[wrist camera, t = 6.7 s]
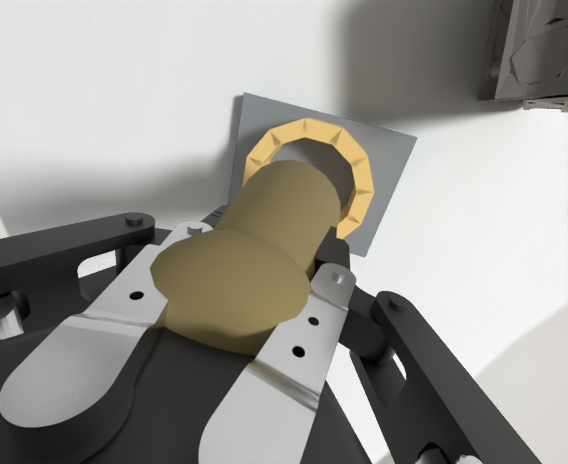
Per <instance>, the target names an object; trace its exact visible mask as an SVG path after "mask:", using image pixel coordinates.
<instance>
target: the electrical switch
mask: <svg viewBox="0 0 568 464" xmlns="http://www.w3.org/2000/svg"><path fill="white" fill-rule="evenodd" d="M501 4H502V9H501V8H500V7H501ZM496 57H497V58H496ZM495 58H496V60H495V61H494V59H495ZM493 61H494V63H493ZM489 75H490V76H489ZM479 100H482V101H479ZM508 100H523V110H530V109H533V108H547V109H562V110H561V112H568V0H495V4H494V9H493V15H492V21H491V27H490V33H489V39H488V44H487V50H486V56H485V62H484V68H483V74H482V79H481V85H480V91H479V97H478V101H477V102H488V101H499V102H502V101H508Z"/></svg>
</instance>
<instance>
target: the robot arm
mask: <svg viewBox="0 0 568 464" xmlns="http://www.w3.org/2000/svg"><path fill="white" fill-rule="evenodd" d="M228 206H229V205H226V206H222V207H219V208H218V209H217V210H215V212H213V213H211V215H209V216H207V217H206V218H205V219H203V220H202V221H201V222H199V221H185V222H182V223H180V224H178V225H177V226H176V227H175V228H174V230H166V229H158V228H155V219H154V218H153V217H152V216H150V215H147V214H143V213H124V214H119V215H114V216H109V217H105V218H100V219H95V220H90V221H85V222H80V223H75V224H70V225H66V226H61V227H56V228H51V229H46V230H41V231H36V232H32V233H27V234H22V235H17V236H12V237H7V238H3V239H0V464H372V463H371V461H370V459H369V457H368V455H367V453H366V452H365V450H364V448H363V446H362V444H361V443H360V441H359V439H358V437H357V435H356V434H355V432H354V430H353V428H352V426H351V424H350V423H349V421H348V419H347V417H346V415H345V414H344V412H343V410H342V408H341V406H340V405H339V403H338V401H337V399H336V397H335V395H334V394H333V392H332V390H331V388H330V386H329V385H328V383H327V381H326V376H327V373H328V370H329V367H330V364H331V361H332V358H333V355H334V352H335V349H336V346H337V343H338V342H339V343H340V344H342V345H344V346H345V347H347V348H348V349H350V352H349V353H350V357H351V360H352V362H353V365H354V367H355V370H356V372H357V374H358V377H359V379H360V381H361V384H362V386H363V389H364V391H365V393H366V396H367V398H368V400H369V403H370V405H371V408H372V410H373V412H374V415H375V417H376V419H377V422H378V424H379V427H380V429H381V431H382V434H383V436H384V438H385V441H386V443H387V446H388V448H389V450H390V453H391V455H392V457H393V460H394V462H395V464H542V463H541V462H540V461H539V459H538V458H537V457H536V456H535V455H534V453H533V452H532V451H531V450H530V448H529V447H528V446H527V445H526V443H525V442H524V441H523V440H522V439H521V437H520V436H519V435H518V434H517V432H516V431H515V430H514V429H513V427H512V426H511V425H510V424H509V422H508V421H507V420H506V419H505V418H504V416H503V415H502V414H501V413H500V412H499V410H498V409H497V408H496V406H495V405H494V404H493V403H492V401H491V400H490V399H489V398H488V397H487V395H486V394H485V393H484V392H483V390H482V389H481V388H480V387H479V386H478V384H477V383H476V382H475V381H474V379H473V378H472V377H471V376H470V374H469V373H468V372H467V371H466V369H465V368H464V367H463V366H462V364H461V363H460V362H459V361H458V360H457V358H456V357H455V356H454V355H453V353H452V352H451V351H450V350H449V348H448V347H447V346H446V345H445V343H444V342H443V341H442V340H441V339H440V337H439V336H438V335H437V334H436V332H435V331H434V330H433V329H432V327H431V326H430V325H429V324H428V322H427V321H426V320H425V319H424V318H423V316H422V315H421V314H420V313H419V311H418V310H417V309H416V308H415V306H414V305H413V304H412V303H411V302H410V301H408V300H407V299H406V298H404V297H403V296H401V295H399V294H397V293H394V292H390V291H381V292H379V293H378V294H377V296H376V297H374V296H372V295H370V294H368V293H366V292H364V291H363V290H361V289H360V288H359V287H357V286H356V285H355V284H356V277H355V275H354V274H353V273H352V272H351V271H350V258H349V257H350V253H349V245H348V244H347V242H346V241H345V240H343V239H340V238H336V236H337V227H333V226H330V228H329V230H328V232H327V234H326V235H325V237H324V239H323V241H322V242H321V244H320V246H319V247H318V250H317V254H316V258H315V276H314V278H313V279H312V281H311V283H310V284H311V286H312V289H313V291H314V292H313V291H310V292H309V295H308V301H307V304H306V306H305V307H304V308H303V310H302V311H301V312H300V314H299V315H298V316H297V317H296V318H293V319H290V320H288V321H285V322H282V323H279V324H278V325H277V327H276V328H275V330H274V331H273V333H272V334H271V336H270V337H269V339H268V340H267V342H266V343H265V345H264V346H263V348H262V349H261V351H260V352H259V354H258V355H257V356H252V355H247V354H242V353H237V352H232V351H227V350H223V349H219V348H216V347H213V346H209V345H206V344H203V343H200V342H198V341H195V340H192V339H189V338H187V337H185V336H182V335H180V334H178V333H175V332H173V331H171V330H169V329H168V328H166V327H164V324H165V322H166V314H167V307H168V302H169V298H167V297H166V296H165V295H163V294H162V293H161V292H160V291H159V290H157V289H156V288H155V286H154V283H153V279H152V276H151V272H150V269H149V268H150V266H151V265H152V263H153V261H154V260H155V258H156V257H157V255H158V254H159V253H160V252H162V251H163V250H164V249H166V248H167V247H169V246H170V245H171V244H173V243H174V242H177V241H180V240H183V239H185V238H188V237H191V236H194V235H197V234H200V233H203V232H206V231H210V230H213V228H214V227H215V226H216V224H217V223H218V221H219V220H220V218H221V217H222V216H223V214H224V213H225V211H226V209H227V208H228ZM113 250H115V256H116V265H115V266H112V267H110V268H107V269H104V270H101V271H98V272H95V273H92V274H90V275H87V276H84V277H81V278H78V272H77V269H78V266H79V265H80V264H81V263H82V262H83V261H84V260H86V259H88V258H91V257H94V256H97V255H100V254H104V253H107V252H110V251H113ZM395 353H396V354H397V356H398V358H399V359H400V361H401V363H402V364H403V366H404V368H405V371H406V380H405V378H404V377H403V375H402V373H401V371H400V370H399V368H398V366H397V365H396V363H395V361H394V359H393V358H392V357H393V356H394V354H395Z"/></svg>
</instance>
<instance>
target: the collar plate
mask: <svg viewBox="0 0 568 464" xmlns="http://www.w3.org/2000/svg"><path fill="white" fill-rule="evenodd" d="M416 140H417V137H414V136H410V135H406V134H403V133H399V132H395V131H391V130H387V129H383V128H379V127H376V126H372V125H368V124H364V123H360V122H356V121H353V120H349V119H345V118H341V117H337V116H333V115H329V114H326V113H322V112H318V111H314V110H310V109H306V108H302V107H299V106H295V105H291V104H287V103H283V102H279V101H276V100H272V99H268V98H264V97H260V96H256V95H252V94H249V93H244V94H243V102H242V109H241V116H240V123H239V130H238V137H237V144H236V151H235V158H234V165H233V172H232V180H231V187H230V194H229V201H228V205H230V204H231V202H232V201H233V200H234V198H235V197H236V196H237V194H238V193H239V192H240V190H241V189H242V187H243V186H244V185H245V183H246V182H247V181H248V179H249V178H250V177H251V176H252V175H253V174H254V173H255V172H256V171H258V170H259V169H260V168H261V167H262V166H265V165H267V164H270V163H272V162H275V161H281V160H296V161H299V162H303V163H307V164H310V165H312V166H313V167H315V168H316V169H318V170H319V171H321V172H322V173H324V174H325V175H326V177H327V178H328V179H329V181H330V182H331V183H332V184H333V186H334V187H335V189H336V192H337V195H338V198H339V201H340V221H339V224H338V227H337V236H336V238H340V239H343V240H345V241H346V242H347V244H348V245H349V253H352V254H355V255H358V256H362V257H365V256H366V254H367V252H368V250H369V247H370V245H371V243H372V240H373V238H374V236H375V234H376V231H377V229H378V227H379V224H380V222H381V220H382V218H383V215H384V213H385V211H386V209H387V206H388V204H389V202H390V199H391V197H392V195H393V193H394V190H395V188H396V186H397V184H398V181H399V179H400V177H401V174H402V172H403V170H404V168H405V165H406V163H407V161H408V158H409V156H410V154H411V152H412V149H413V147H414V145H415V143H416Z"/></svg>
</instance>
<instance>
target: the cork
mask: <svg viewBox="0 0 568 464" xmlns="http://www.w3.org/2000/svg"><path fill="white" fill-rule="evenodd" d="M339 221H340V201H339V198H338V195H337V192H336V189H335V187H334V186H333V184H332V183H331V182H330V181H329V179H328V178H327V177H326V175H325V174H324V173H322V172H321V171H319V170H318V169H316V168H315V167H313V166H312V165H310V164H307V163H303V162H299V161H296V160H281V161H275V162H272V163H270V164H267V165H265V166H262V167H261V168H260V169H259V170H258V171H256V172H255V173H254V174H253V175H252V176H251V177H250V178H249V179H248V181H247V182H246V183H245V185H244V186H243V187H242V189H241V190H240V192H239V193H238V194H237V196H236V197H235V198H234V200H233V201H232V202H231V204H230V205H229V206H228V208H227V209H226V211H225V213H224V214H223V216H222V217H221V218H220V220H219V221H218V223H217V224H216V226H215V227H214V228H213V230H210V231H206V232H203V233H200V234H197V235H194V236H191V237H188V238H185V239H183V240H180V241H177V242H174V243H173V244H171V245H170V246H169V247H167V248H166V249H164V250H163V251H162V252H160V253H159V254H158V255H157V257H156V258H155V260H154V261H153V263H152V265H151V266H150V268H149V269H150V272H151V276H152V279H153V283H154V286H155V288H156V289H157V290H159V291H160V292H161V293H162V294H163V295H165V296H166V297H167V298H169V302H168V307H167V314H166V322H165V324H164V327H166V328H168V329H169V330H171V331H173V332H175V333H178V334H180V335H182V336H185V337H187V338H189V339H192V340H195V341H198V342H200V343H203V344H206V345H209V346H213V347H216V348H219V349H223V350H227V351H232V352H237V353H242V354H247V355H252V356H257V355H258V354H259V352H260V351H261V349H262V348H263V346H264V345H265V343H266V342H267V340H268V339H269V337H270V336H271V334H272V333H273V331H274V330H275V328H276V327H277V325H278V324H279V323H282V322H285V321H288V320H290V319H293V318H296V317H297V316H298V315H299V314H300V312H301V311H302V310H303V308H304V307H305V306H306V304H307V301H308V295H309V292H310V291H313V289H312V286H311V284H310V283H311V281H312V279H313V278H314V276H315V258H316V254H317V250H318V247H319V246H320V244H321V242H322V241H323V239H324V237H325V235H326V234H327V232H328V230H329V228H330V226H333V227H338V224H339ZM313 292H314V291H313Z"/></svg>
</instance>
